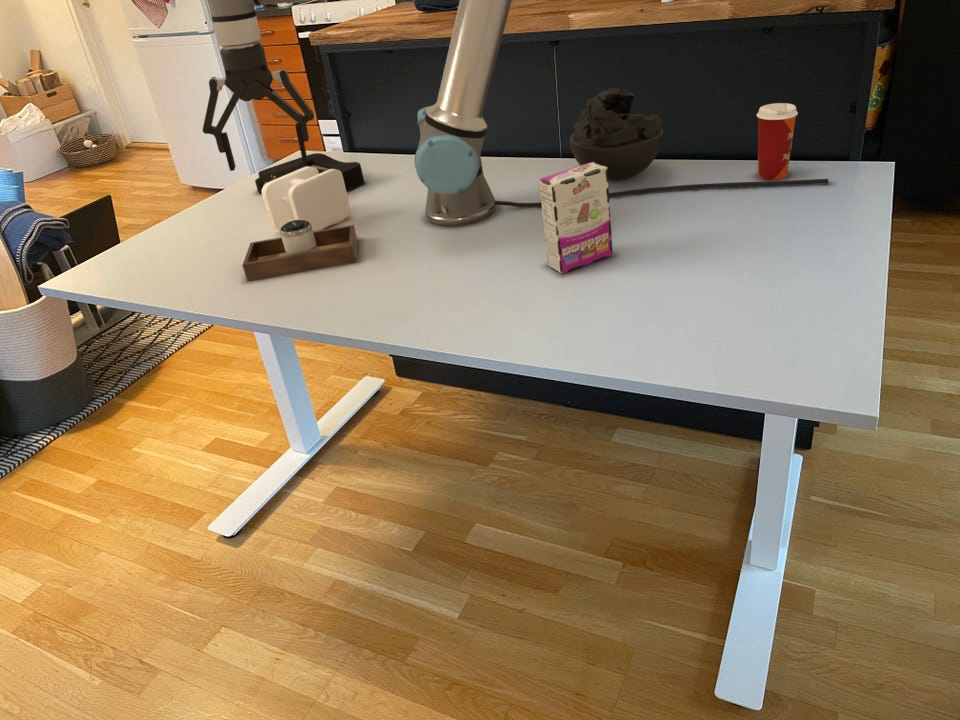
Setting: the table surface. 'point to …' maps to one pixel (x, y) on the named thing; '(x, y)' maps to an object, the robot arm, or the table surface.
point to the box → (301, 254)
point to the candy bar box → (576, 217)
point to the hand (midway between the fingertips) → (269, 163)
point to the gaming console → (318, 161)
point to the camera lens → (298, 237)
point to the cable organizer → (307, 198)
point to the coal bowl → (616, 135)
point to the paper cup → (775, 139)
